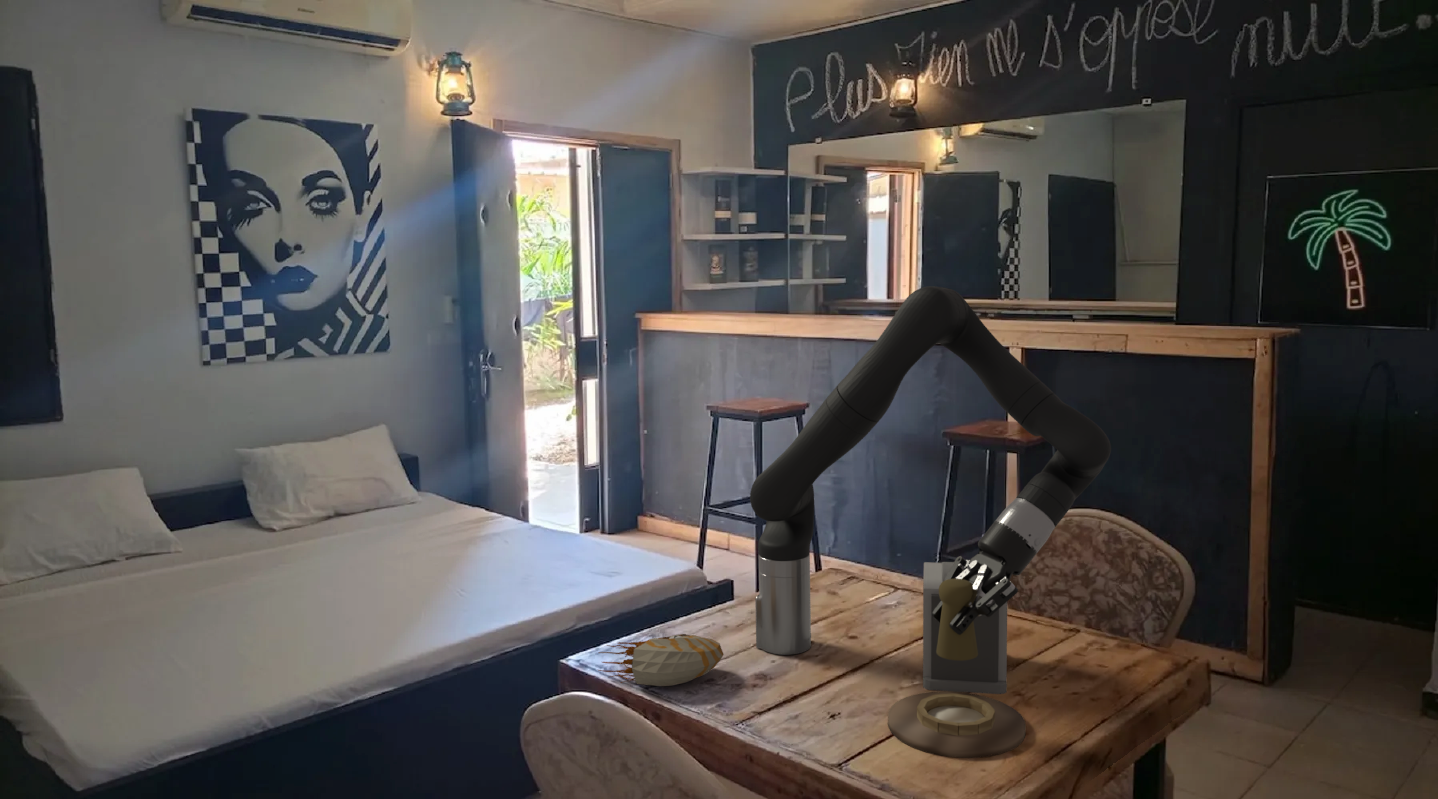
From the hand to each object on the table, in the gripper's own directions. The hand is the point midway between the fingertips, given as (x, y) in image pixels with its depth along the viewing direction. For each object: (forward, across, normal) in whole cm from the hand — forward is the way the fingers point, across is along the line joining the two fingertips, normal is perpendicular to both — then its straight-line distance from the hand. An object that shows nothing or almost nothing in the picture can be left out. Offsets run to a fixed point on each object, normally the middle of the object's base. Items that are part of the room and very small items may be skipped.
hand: (945, 624), depth 152 cm
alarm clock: (+2, -18, +22) cm, 28 cm away
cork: (+2, 0, +5) cm, 5 cm away
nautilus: (+36, -34, -13) cm, 51 cm away
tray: (+10, 0, +12) cm, 16 cm away
